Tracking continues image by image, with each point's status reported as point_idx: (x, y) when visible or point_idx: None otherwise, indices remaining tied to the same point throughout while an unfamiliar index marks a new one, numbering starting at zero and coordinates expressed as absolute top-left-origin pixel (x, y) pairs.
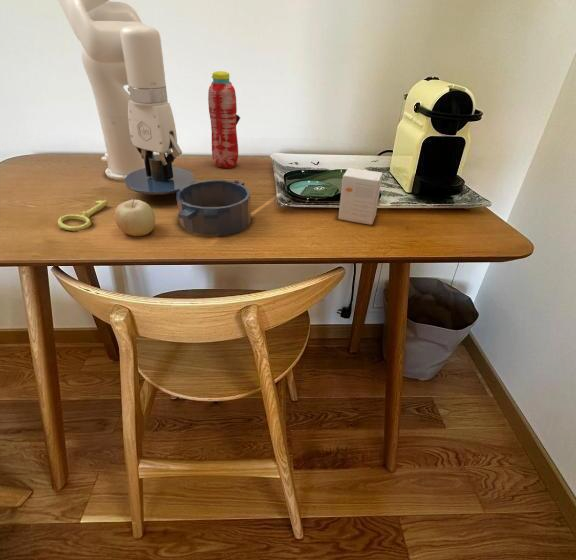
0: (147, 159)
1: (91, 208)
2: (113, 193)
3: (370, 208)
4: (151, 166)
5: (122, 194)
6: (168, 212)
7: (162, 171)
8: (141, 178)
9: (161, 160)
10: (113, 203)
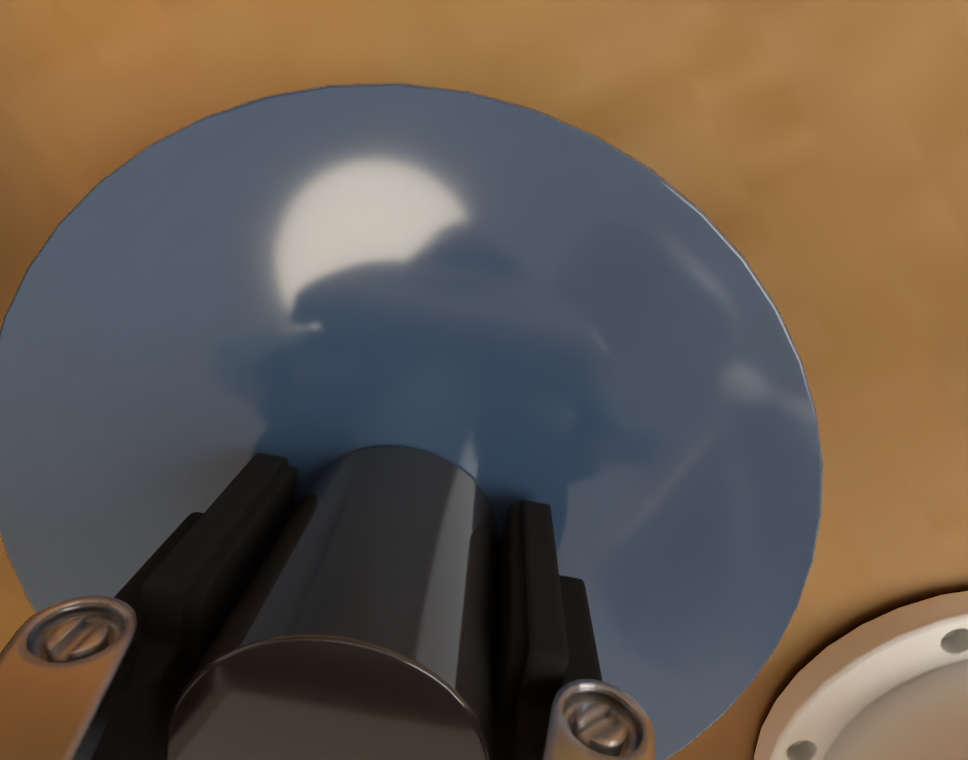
0: (533, 706)
1: None
2: (905, 338)
3: None
4: (396, 561)
5: (808, 347)
6: (150, 131)
7: (207, 519)
8: (601, 450)
9: (114, 666)
10: (792, 120)
